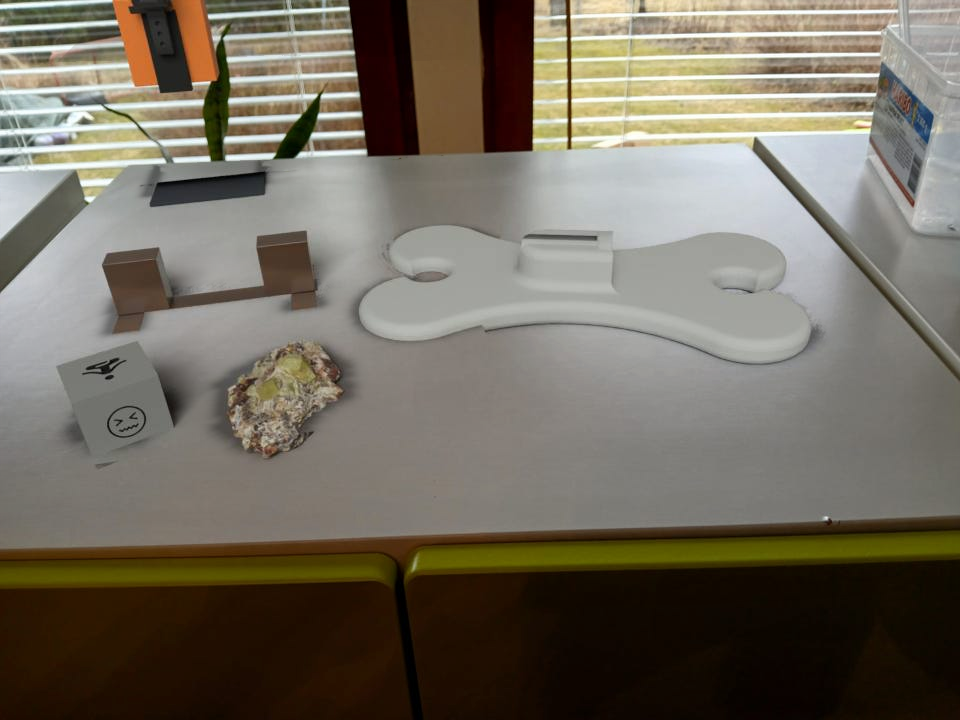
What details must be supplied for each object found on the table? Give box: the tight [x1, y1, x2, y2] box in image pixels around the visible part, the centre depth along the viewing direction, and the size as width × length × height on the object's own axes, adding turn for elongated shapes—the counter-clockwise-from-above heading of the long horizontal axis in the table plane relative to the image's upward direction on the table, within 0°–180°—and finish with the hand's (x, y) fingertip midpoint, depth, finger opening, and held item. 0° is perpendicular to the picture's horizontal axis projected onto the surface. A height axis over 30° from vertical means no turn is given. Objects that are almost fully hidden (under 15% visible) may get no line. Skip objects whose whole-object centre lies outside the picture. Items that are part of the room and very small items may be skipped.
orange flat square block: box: [111, 0, 220, 88], centre depth 69 cm, size 3×7×7 cm, turn 101°
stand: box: [101, 230, 319, 335], centre depth 64 cm, size 8×16×6 cm, turn 102°
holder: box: [358, 224, 813, 365], centre depth 64 cm, size 19×34×5 cm, turn 82°
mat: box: [149, 170, 266, 207], centre depth 91 cm, size 12×12×1 cm
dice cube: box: [55, 340, 175, 470], centre depth 51 cm, size 5×5×5 cm
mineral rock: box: [226, 339, 345, 460], centre depth 53 cm, size 11×4×8 cm
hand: (179, 85), depth 71 cm, fingers closed on orange flat square block, 3 cm apart
